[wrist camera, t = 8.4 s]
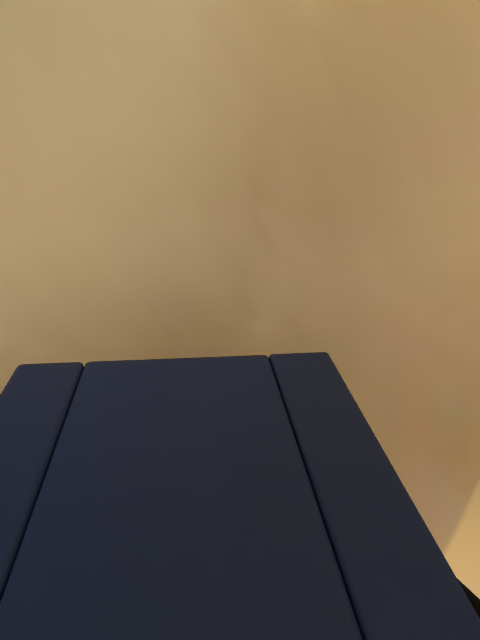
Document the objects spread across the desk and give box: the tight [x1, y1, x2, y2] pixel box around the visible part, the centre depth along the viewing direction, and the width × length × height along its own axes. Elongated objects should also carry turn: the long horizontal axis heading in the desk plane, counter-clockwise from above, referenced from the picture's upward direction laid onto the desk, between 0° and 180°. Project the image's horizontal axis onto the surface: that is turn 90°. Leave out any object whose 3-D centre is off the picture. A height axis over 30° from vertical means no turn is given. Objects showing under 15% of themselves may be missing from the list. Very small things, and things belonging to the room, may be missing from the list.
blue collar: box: [0, 352, 480, 640], centre depth 7 cm, size 5×5×5 cm
